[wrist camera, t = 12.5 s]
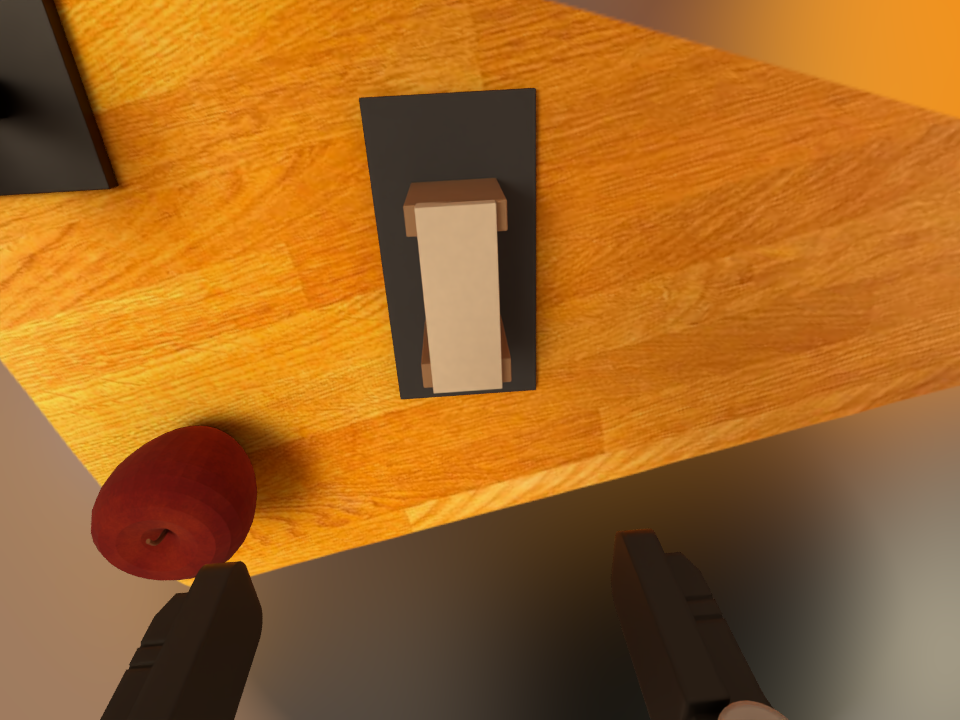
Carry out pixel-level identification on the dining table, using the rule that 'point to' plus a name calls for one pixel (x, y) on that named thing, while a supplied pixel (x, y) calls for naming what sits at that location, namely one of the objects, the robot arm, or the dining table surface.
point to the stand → (45, 108)
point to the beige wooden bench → (460, 282)
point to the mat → (442, 157)
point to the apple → (176, 505)
